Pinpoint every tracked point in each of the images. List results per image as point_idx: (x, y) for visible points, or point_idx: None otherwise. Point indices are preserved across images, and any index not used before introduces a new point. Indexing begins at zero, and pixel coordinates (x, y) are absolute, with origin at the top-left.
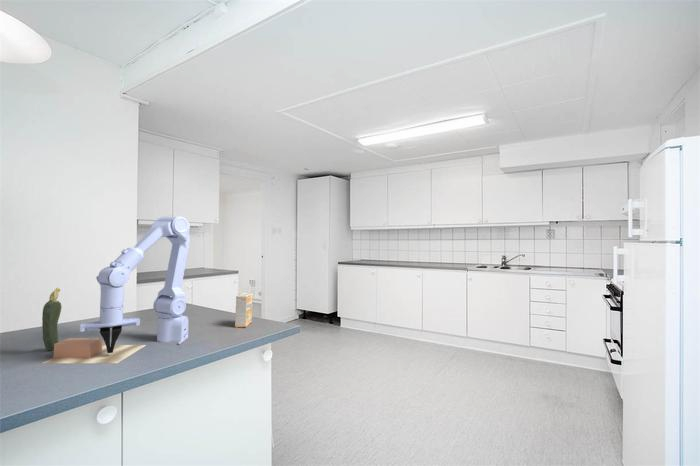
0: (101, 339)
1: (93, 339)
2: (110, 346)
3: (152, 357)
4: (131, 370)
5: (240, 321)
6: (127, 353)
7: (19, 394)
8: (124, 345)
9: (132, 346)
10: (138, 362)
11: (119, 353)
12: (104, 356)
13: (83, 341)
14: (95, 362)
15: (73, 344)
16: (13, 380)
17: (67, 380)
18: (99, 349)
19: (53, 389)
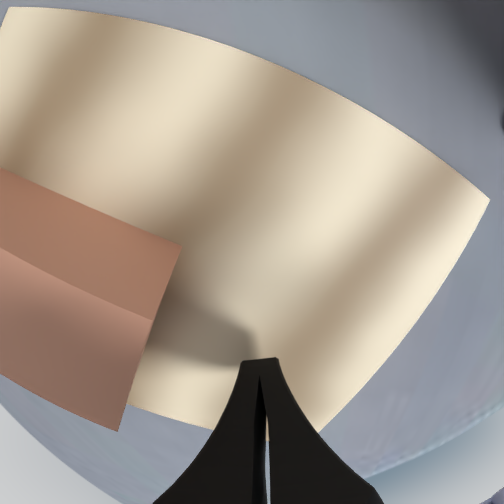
0: (147, 334)
1: (65, 313)
2: (261, 384)
3: (446, 377)
4: (346, 462)
5: None
6: (363, 350)
7: (98, 478)
8: (353, 121)
9: (413, 190)
10: (384, 417)
11: (318, 337)
12: (228, 362)
13: (20, 340)
14: (205, 421)
15: (6, 375)
16: (11, 407)
17: (163, 471)
18: (163, 294)
19: (158, 490)
